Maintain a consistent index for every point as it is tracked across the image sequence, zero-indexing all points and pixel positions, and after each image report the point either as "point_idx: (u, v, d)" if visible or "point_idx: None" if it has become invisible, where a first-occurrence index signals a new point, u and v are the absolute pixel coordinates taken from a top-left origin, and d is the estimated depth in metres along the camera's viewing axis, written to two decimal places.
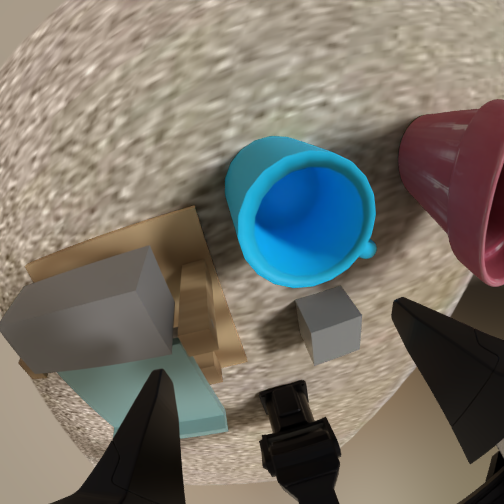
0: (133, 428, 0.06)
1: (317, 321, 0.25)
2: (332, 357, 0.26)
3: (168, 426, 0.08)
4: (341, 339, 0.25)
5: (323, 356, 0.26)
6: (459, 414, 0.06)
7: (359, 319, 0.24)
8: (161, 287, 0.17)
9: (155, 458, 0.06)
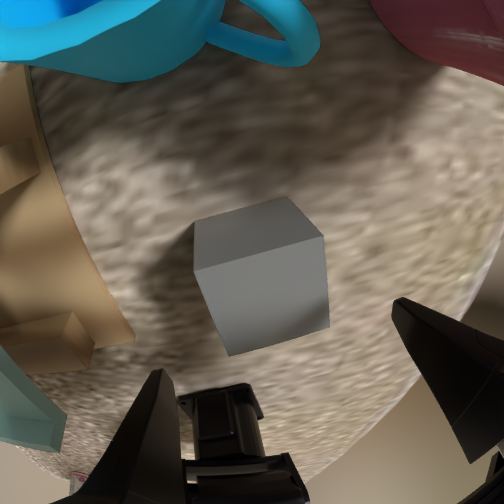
0: (133, 428, 0.06)
1: (217, 249, 0.11)
2: (267, 341, 0.13)
3: (168, 426, 0.08)
4: (280, 297, 0.12)
5: (244, 336, 0.12)
6: (459, 414, 0.06)
7: (318, 247, 0.11)
8: None
9: (155, 458, 0.06)
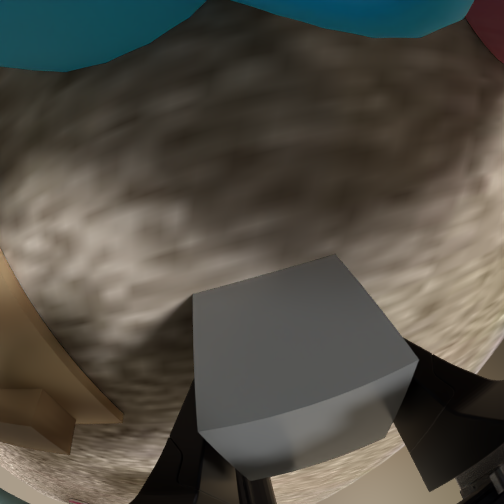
0: (193, 422, 0.07)
1: (237, 382, 0.06)
2: (304, 465, 0.07)
3: None
4: (333, 434, 0.06)
5: (274, 467, 0.07)
6: (415, 442, 0.06)
7: (406, 374, 0.05)
8: None
9: (216, 452, 0.06)
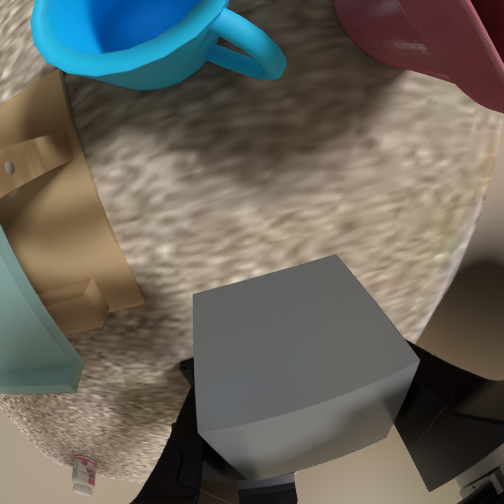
0: (193, 422, 0.07)
1: (237, 383, 0.06)
2: (304, 466, 0.07)
3: None
4: (334, 435, 0.06)
5: (275, 468, 0.07)
6: (414, 442, 0.06)
7: (407, 375, 0.05)
8: None
9: (217, 452, 0.06)
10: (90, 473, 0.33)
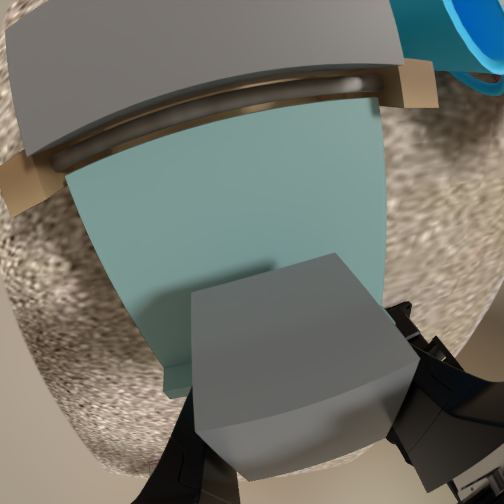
0: None
1: (235, 381, 0.06)
2: (303, 466, 0.07)
3: None
4: (333, 434, 0.06)
5: (273, 468, 0.07)
6: (413, 443, 0.06)
7: (407, 373, 0.05)
8: None
9: None
10: None
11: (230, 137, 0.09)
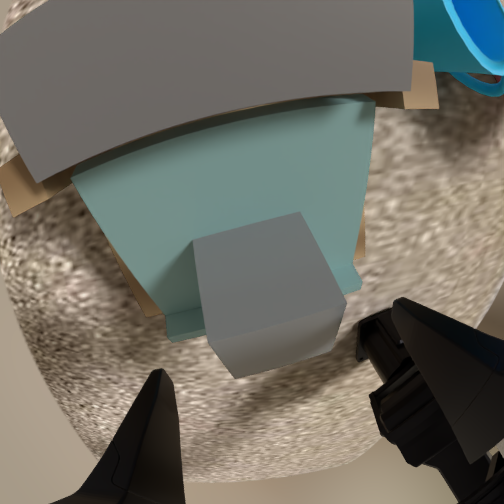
0: (133, 428, 0.06)
1: (230, 308, 0.10)
2: (272, 367, 0.13)
3: (168, 426, 0.08)
4: (291, 344, 0.11)
5: (252, 367, 0.12)
6: (459, 414, 0.06)
7: (338, 310, 0.10)
8: None
9: (155, 458, 0.06)
10: None
11: (231, 139, 0.09)
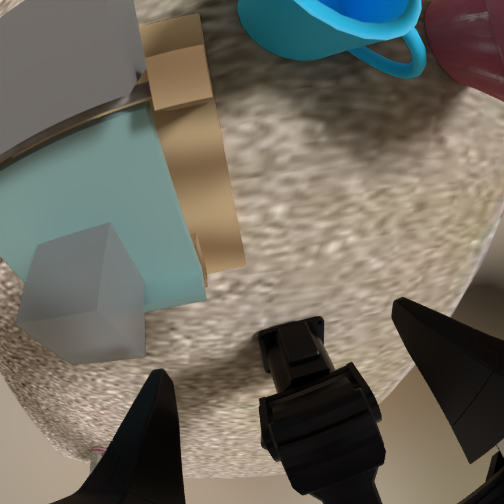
0: (133, 428, 0.06)
1: (32, 301, 0.10)
2: (94, 360, 0.13)
3: (168, 426, 0.08)
4: (85, 340, 0.11)
5: (75, 356, 0.12)
6: (459, 414, 0.06)
7: (97, 316, 0.10)
8: (133, 23, 0.07)
9: (155, 458, 0.06)
10: None
11: (32, 167, 0.09)
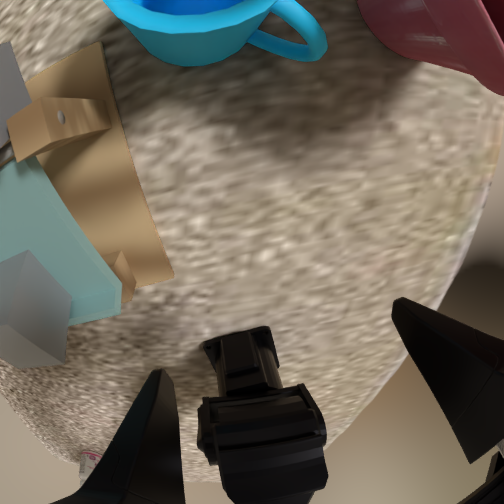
0: (133, 428, 0.06)
1: None
2: (30, 365, 0.13)
3: (168, 426, 0.08)
4: (14, 348, 0.11)
5: (15, 361, 0.12)
6: (459, 414, 0.06)
7: (9, 328, 0.10)
8: (10, 83, 0.07)
9: (155, 458, 0.06)
10: None
11: None
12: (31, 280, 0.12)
